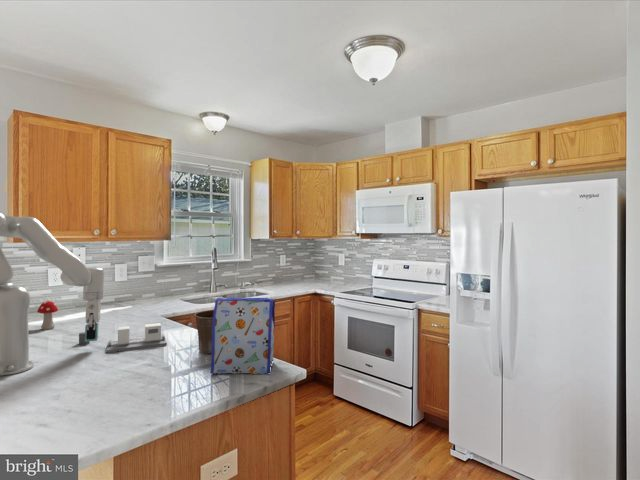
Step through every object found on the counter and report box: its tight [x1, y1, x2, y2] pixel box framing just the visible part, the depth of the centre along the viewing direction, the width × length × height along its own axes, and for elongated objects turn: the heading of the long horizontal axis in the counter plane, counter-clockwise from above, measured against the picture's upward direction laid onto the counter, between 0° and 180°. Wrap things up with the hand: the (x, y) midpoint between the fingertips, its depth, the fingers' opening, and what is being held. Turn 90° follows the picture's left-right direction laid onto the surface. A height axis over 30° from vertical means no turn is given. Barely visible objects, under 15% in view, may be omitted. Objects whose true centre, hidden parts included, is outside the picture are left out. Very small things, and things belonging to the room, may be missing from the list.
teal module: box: [84, 322, 100, 342], centre depth 160 cm, size 6×4×7 cm
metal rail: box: [107, 334, 166, 347], centre depth 169 cm, size 4×23×2 cm, turn 117°
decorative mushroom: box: [37, 300, 59, 331], centre depth 199 cm, size 10×9×15 cm
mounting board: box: [105, 335, 168, 354], centre depth 169 cm, size 14×24×1 cm, turn 117°
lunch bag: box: [210, 297, 276, 375], centre depth 139 cm, size 23×17×27 cm
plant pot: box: [194, 309, 214, 355], centre depth 161 cm, size 16×16×16 cm
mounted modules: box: [117, 322, 162, 344], centre depth 169 cm, size 6×18×6 cm, turn 117°
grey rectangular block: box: [78, 331, 91, 346], centre depth 171 cm, size 3×4×5 cm
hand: (91, 337), depth 160 cm, fingers closed on teal module, 5 cm apart
